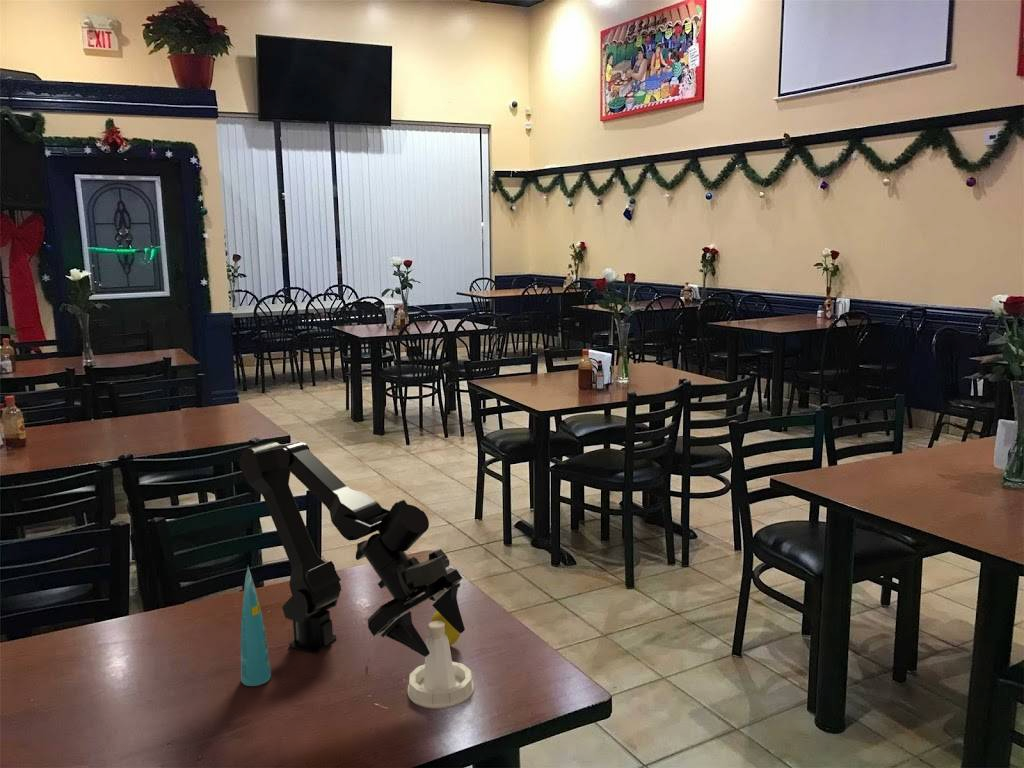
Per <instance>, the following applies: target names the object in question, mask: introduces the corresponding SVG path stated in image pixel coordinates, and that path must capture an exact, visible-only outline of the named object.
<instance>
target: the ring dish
mask: <svg viewBox="0 0 1024 768" xmlns="http://www.w3.org/2000/svg"><path fill="white" fill-rule="evenodd" d="M452 664H453V670H454V676H455V682H456V686H455V687H453V688H450V689H448V690H435V691H434V690H430V689H426V688H425V686H424V671H425V663H424V664H422V665H419V666H417V667H416V668H415V669H413V671H411V672H410V674H409V682H408V686H407V696H408V698H409V700H410V701H411V702H412V703H413V704H415V705H417V706H419V707H422V708H425V709H433V710H434V709H436V710H438V709H440V710H442V709H447V708H453V707H456V706H459V705H461V704H463V703H465V702H466V701H468V700H469V699H470V698H471V697H472V695H473V693H474V692H475V691H474V690H475V683H474V681H473V678H472V671H471V669H470V668H468V667H467V666H466V665H465V664H463V663H460V662H456V661H453V660H452Z"/></svg>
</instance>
